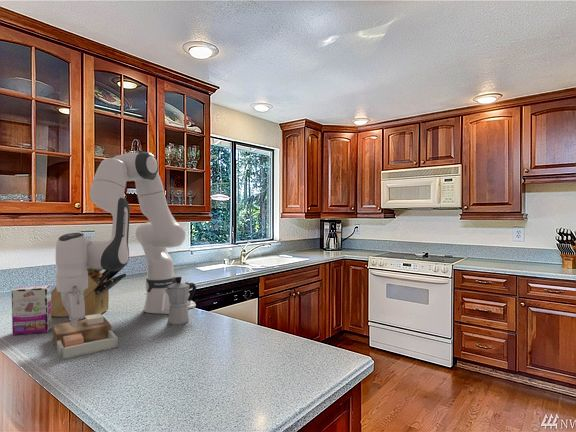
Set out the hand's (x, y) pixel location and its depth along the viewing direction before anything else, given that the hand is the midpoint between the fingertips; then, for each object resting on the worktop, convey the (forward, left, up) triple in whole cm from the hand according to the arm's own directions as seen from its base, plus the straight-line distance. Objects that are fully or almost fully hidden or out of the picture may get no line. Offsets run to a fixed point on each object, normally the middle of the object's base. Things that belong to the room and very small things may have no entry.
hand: (73, 326), depth 117 cm
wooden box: (-3, -7, -7) cm, 11 cm away
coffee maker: (-38, -6, -8) cm, 40 cm away
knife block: (-9, -40, -8) cm, 41 cm away
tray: (-3, +3, -7) cm, 9 cm away
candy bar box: (+10, -26, -8) cm, 29 cm away
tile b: (+1, +3, -5) cm, 6 cm away
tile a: (-7, -8, -2) cm, 12 cm away
